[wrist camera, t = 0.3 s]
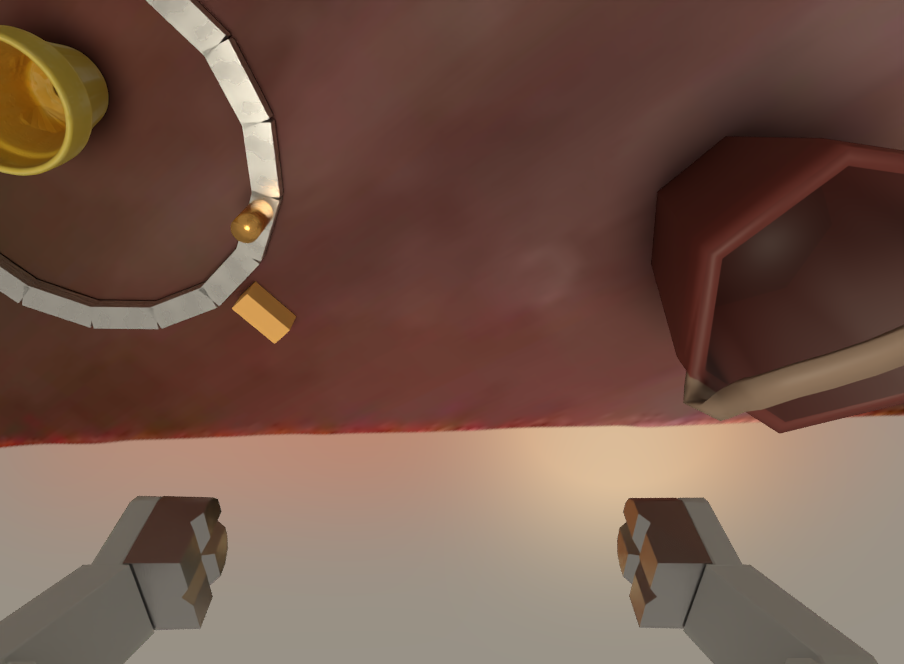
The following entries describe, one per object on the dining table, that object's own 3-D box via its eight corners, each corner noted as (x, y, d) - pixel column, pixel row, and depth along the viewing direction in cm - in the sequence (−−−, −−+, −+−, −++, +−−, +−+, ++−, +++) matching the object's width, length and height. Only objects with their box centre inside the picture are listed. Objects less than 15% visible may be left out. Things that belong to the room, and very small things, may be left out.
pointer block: (240, 295, 61) (231, 308, 58) (255, 281, 60) (247, 294, 58) (281, 329, 63) (274, 343, 60) (296, 316, 62) (289, 330, 60)
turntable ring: (-214, -88, 44) (-309, -101, 39) (252, -73, 45) (225, -84, 40) (-36, 319, 62) (-85, 351, 56) (298, 324, 62) (284, 356, 57)
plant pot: (66, 167, 54) (-4, 198, 46) (-22, 56, 50) (-118, 67, 41) (156, 118, 52) (101, 140, 44) (74, -3, 48) (-6, -4, 39)
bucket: (625, 342, 65) (719, 515, 43) (585, 147, 54) (684, 244, 32) (856, 279, 61) (1086, 431, 40) (862, 58, 51) (1179, 100, 29)
